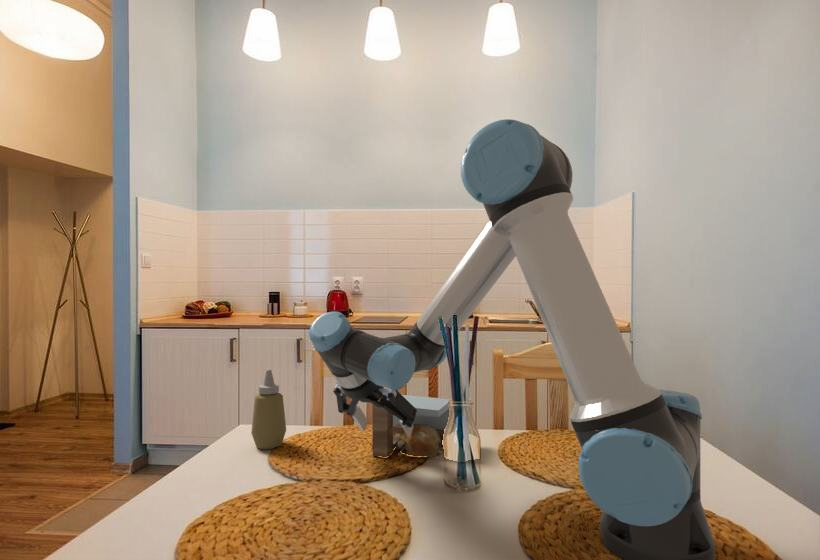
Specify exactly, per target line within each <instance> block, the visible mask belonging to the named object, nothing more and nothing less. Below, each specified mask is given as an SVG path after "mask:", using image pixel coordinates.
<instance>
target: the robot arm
mask: <svg viewBox="0 0 820 560" xmlns="http://www.w3.org/2000/svg"><path fill="white" fill-rule="evenodd" d="M460 177H461V182H462V185H463V186H464V188H465V190H466V191H467V193H468V194H469V195H470V196H471V197H472V198H473V199H474V200H475V201H477V202H479V203H481V204H483V207H484V210H485V211H486V214H487V218H488V220H487V222H486V223H485V225H484V226H483V227H482V229H481V230H480V232H479V233H478V234H477V236H476V237H475V239H474V241H472V243H471V245H470V246H469V248H468V249H467V250H466V251H465V253H464V254H463V256H462V257H461V258H460V260H459V261H458V262H457V264H456V265H455V267H454V268H453V270H452V271H451V272H450V274H449V276H448V277H447V278H446V280H445V281H444V283H443V284H442V285H441V287H440V288H439V289H438V291H437V292H436V293H435V294H434V296H433V298H432V299H431V301H430V302H429V304H428V305H427V307H425V309H424V310H423V312H422V313H421V315H420V316H419V317H418V319H417V320H416V322H415V323H414V324H413V326H412V327H411V328H410V330H409V331H408V332H407V333H404V334H397V335H393V336H392V335H391V336H386V337H380V336H376V335H373V334H370V333H367V332H365V331H363V330H360V329H357V328H355V327H353V326H352V325H351V322H350V320H349V319H347V317H346V315H345V314H343V313H342V312H340V311H328V312H325V313H323V314H321V315H318V317H316V318H315V320H314V321H313V322H312V323H311V325H310V327H309V330H308V336H309V339H310V341H311V343H312V345H313V348H314V350H315V351H316V352H317V353H318V355H319V356H320V358H321V359H322V361H323V362H324V364H325V365H326V367H327V368H328V370H329V371H330V373H331V374H332V376H333V378H334V379H335V381H336V384H335V385H334V388H333V391H332V392H333V393H334V395H335V397H336V404H337V411H338V412H339V413H340V414H344V413H345V414H346V415H347V416H349V417H350V419H352V421H354V422H355V423H356V425H357V426H358V428H359V429H360V431H361V432H365V431H366V427H367V425H368V422H369V419H368V418H367V417H366V415H365V413H364V412H363V410H362V408H361V407H360V406H359V405H358V404H359V402H361V403H370V404H374V405H375V406H377V407H379V408H380V407H382V408H384V409H385V410H387V411H388V412H390V413H391V414H393V415H394V416H396V417H397V418H399V419H400V424H401V426H402V428H403V429H404V431H405V433H406V435H407V437H411V434H412V430H413V427H414V426H413V421H414V420H415V416H416V412H417V409H416V408H415V407H414V406H413V405H412V404H411V403H409V402H408V401H407V400H406V399H405V398H404V397H403V396H402V395H403V394H401V393H400V392H399V390H401V389H403V388H404V387H405V385H406V384H408V383H409V382H410V381H411V379H412V378H413V375H414V373H420V372H422V371H429V370H432V369H433V368H436V366H439V365H441V364H442V363H443V362H444V361H445V359H446V358H447V355H446V351H445V345H444V341H443V337H442V333H441V330H440V325H439V321H438V316H441V317H443V324H447V326H448V327H449V328H450V326H451V327H452V326H453V323H452V315H457V323H458V332H459V331H460V330H461V329H462V327H463V326H464V325H465V323H466V322H467V320H468V319H469V318H470V317H471V316H472V314H473V312H474V311H475V310H476V309H477V307H478V306H479V305H480V303H481V302H482V301H484V298H485V297H486V296H487V295H488V293H489V291H490V290H492V289H493V286H495V284H496V283H497V282H498V281H499V279H500V278H501V276H502V275H503V273H504V272H505V271H506V270H507V268H508V267H509V266H510V265H511V264H512V262H513V261H514V259H515V258H516V260H517V261H518V264H519V267H520V269H521V271H522V274H523V276H524V279H525V281H526V284H527V286H528V288H529V291H530V294H531V296H532V298H533V301H534V304H535V306H536V309H537V311H538V313H539V316H540V318H541V320H542V323H543V325H544V327H545V330H546V332H547V335H548V338H549V340H550V342H551V345H552V347H553V350H554V353H555V354H556V357H557V360H558V363H559V364H560V367H561V369H562V371H563V374H564V377H565V379H566V382H567V385H568V387H569V389H570V392H571V394H572V397H573V399H574V406H573V408H572V410H571V412H570V415H569V420H570V422H571V426H572V428H573V430H574V433H575V436H576V438H577V441H578V444H579V445H580V446H579V447H580V448H581V451H580V453H579V457H578V476H579V479H580V482H581V485H582V487H583V489H584V491H585V493H586V494H587V497H589V499H590V500H591V501H592V502H593V503H594V504H595V505H596V507H598V509H600V511H602V514H601V517H600V522H599V523H600V524H599V526H600V529H599V531H600V532H599V533H600V534H599V536H600V538H601V541H602V542H603V545H605V547H606V548H607V549H608V550H609V551H610V552H611V553H613V554H614V555H616V556H617V557H618V558H620V559H622V560H716V542H715V540H714V537H713V533H712V530H711V527H710V524H709V521H708V519H707V516H706V513H705V510H704V507H703V505H702V501H701V497H702V496H701V420H702V419H703V414H702V413H701V404H700V400H699V399H698V398H697V397H696V396H694V395H693V394H691V393H687V392H681V391H674V390H667V389H660V388H659V389H658V388H656V387H654V386H652V385H650V384H647V383H645V382H644V381H643V380H642V378H641V377H640V373H639V371H638V369H637V368H636V365H635V362H634V361H633V359H632V356H631V354H630V352H629V349H628V347H627V345H626V342H625V339H624V337H623V336H622V333H621V331H620V329H619V327H618V324H617V322H616V321H615V318H614V316H613V313H612V311H611V309H610V306H609V305H608V302H607V300H606V298H605V295H604V293H603V291H602V290H603V289H601V287H600V284H599V281H598V280H597V277H596V274H595V273H594V270H593V268H592V266H591V264H590V262H589V258H588V256H587V254H586V252H585V250H584V248H583V246H582V244H581V240H580V239H579V237H578V234H577V231H576V230H575V228H574V226H573V225H574V224H573V222H572V221H571V218H570V216H569V209H570V208H571V205H572V203H573V201H574V196H573V194H572V191H571V188H572V182H573V169H572V164H571V161H570V159H569V157H568V156H567V154H566V153H565V152H564V150H563V149H562V148H561V147H559V146H558V145H557V144H555V143H554V142H552V141H550V140H548V138H546V137H544V136H543V135H542V134H540V132H539V131H538V130H537V129H536V128H535V127H534V126H533V125H531V124H529V123H525V122H522V121H520V120H517V119H512V118H511V119H510V118H509V119H508V118H507V119H505V118H504V119H499V120H495V121H493V122H490V123H489V124H486V125H485V126H484V127H482V128H481V129H480V130H478V131H477V132H476V133H475V134H474V135H473V136H472V138H471V139H470V140H469V141H468V144H467V145H466V148H465V151H464V154H463V155H462V158H461V162H460ZM441 317H439V318H441ZM347 398H349V399H351V401H350V403H348V400H347ZM379 399H380V401H378V400H379Z"/></svg>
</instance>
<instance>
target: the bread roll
mask: <svg viewBox="0 0 820 560" xmlns="http://www.w3.org/2000/svg"><path fill="white" fill-rule="evenodd" d="M413 426H414V427H413V430H412V434H411V437H407V435H406V433H405V431H403V432H402V434H401V435H400V436H399V437H398V438H397V443H398V444H397V446H396V451H398V452H400V451H401V452H402V453H405V454H408V455H413V456H427V457H428V458H432V457H433V458H434V457H435V456H437V455H438V456H439V455H440V454H442V450H441V447H442V446H441V440H440V436H439V434H438V432H437V431H436V430H435V429H434V428H433V427H431V426H429V425H428V424H414V425H413ZM427 457H426V458H427Z"/></svg>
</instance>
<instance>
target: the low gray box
mask: <svg viewBox="0 0 820 560" xmlns="http://www.w3.org/2000/svg"><path fill="white" fill-rule="evenodd" d="M401 395H402V396H403V397H404V398H405V399H406V400H407V401H408V402H409V403H411V404H412V405H413V406H414V407H415V408H416V409H417V412H416V416H415V420H414V421H413V425H414V424H428V425H429V426H431V427H433V428H434V429H438V430H444V429H445V427H446V425H447V422H448V417H449V406H448V401H449V400H450V398H449V399H448V398H439V397H432V396H431V397H430V396H420V395H409V394H408V395H407V394H406V395H405V394H401ZM395 425H401V424H400V419H399V418H397V417H396V416H394V415H393V426H395Z"/></svg>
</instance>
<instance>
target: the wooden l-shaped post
mask: <svg viewBox="0 0 820 560" xmlns="http://www.w3.org/2000/svg"><path fill="white" fill-rule="evenodd" d="M378 401H380V399H379V400H378ZM371 404H372V403H371ZM371 409H372V414H371V415H372V422H371V423H372V457H373V456H382V457H387V456H389V455H390V454H391V453H392V452H393V453H394V451H393V449H394V448H395V447H396V446H397V444H398V443H397V438H398V437H399V436H400V435H401V434H402V432H403V431H404V429H403V428H402V426H401V425H395V426H393V414H391V413H390V412H388V411H387V410H385V409H384V408H382V407H380V408H379V407H377V406H375V405H374V404H372V407H371ZM435 430H436V431H437V432H438V434H439V436H440V440H441V447H443V446H442V440H443V434H444V430H438V429H435Z"/></svg>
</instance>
